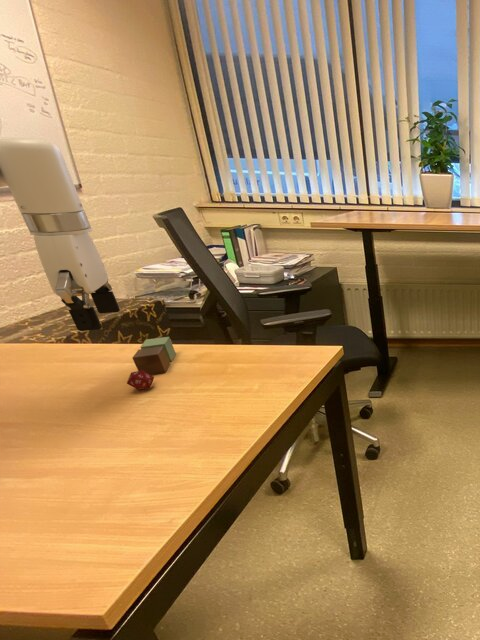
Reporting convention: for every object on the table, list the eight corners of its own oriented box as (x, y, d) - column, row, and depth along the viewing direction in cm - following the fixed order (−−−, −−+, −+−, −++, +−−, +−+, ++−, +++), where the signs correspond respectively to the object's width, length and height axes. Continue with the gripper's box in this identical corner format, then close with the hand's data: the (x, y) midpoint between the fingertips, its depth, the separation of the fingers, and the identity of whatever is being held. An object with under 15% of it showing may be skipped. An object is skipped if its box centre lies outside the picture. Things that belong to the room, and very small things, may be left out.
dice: (130, 388, 85) (122, 371, 83) (157, 382, 88) (150, 365, 86) (131, 396, 83) (122, 378, 81) (158, 389, 85) (151, 371, 83)
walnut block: (140, 376, 90) (132, 357, 88) (146, 367, 93) (138, 349, 91) (165, 372, 91) (157, 354, 89) (170, 364, 95) (163, 346, 93)
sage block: (148, 364, 95) (140, 346, 92) (153, 357, 98) (145, 339, 96) (171, 361, 96) (164, 343, 94) (176, 353, 100) (169, 336, 98)
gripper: (52, 216, 75) (92, 308, 82) (-2, 232, 61) (52, 340, 69) (105, 216, 77) (139, 304, 85) (65, 230, 64) (110, 334, 71)
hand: (100, 320), depth 77 cm, fingers open, 9 cm apart
